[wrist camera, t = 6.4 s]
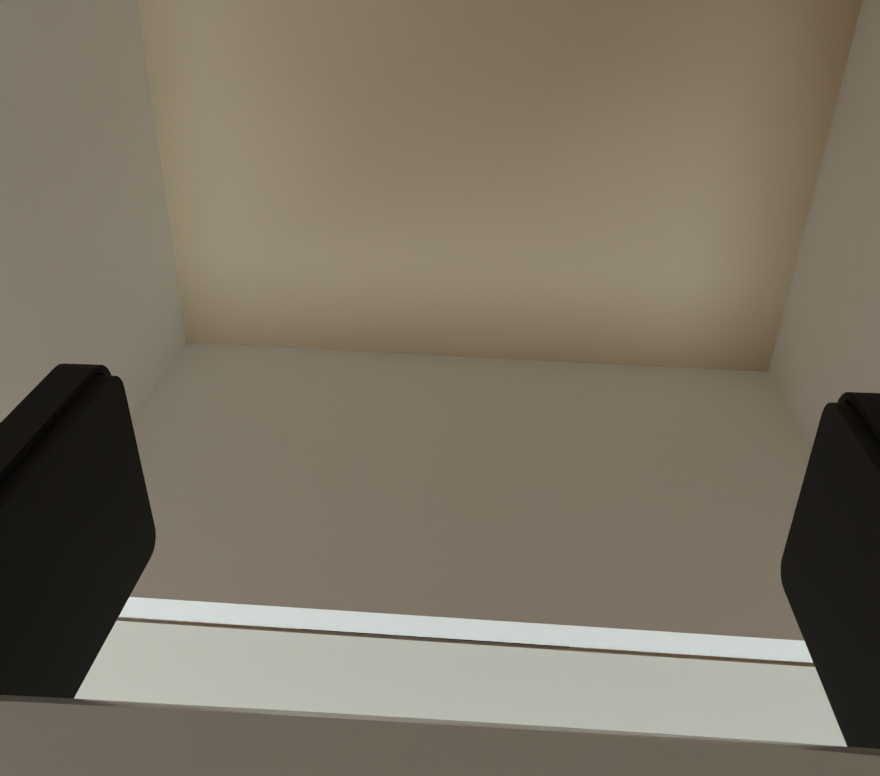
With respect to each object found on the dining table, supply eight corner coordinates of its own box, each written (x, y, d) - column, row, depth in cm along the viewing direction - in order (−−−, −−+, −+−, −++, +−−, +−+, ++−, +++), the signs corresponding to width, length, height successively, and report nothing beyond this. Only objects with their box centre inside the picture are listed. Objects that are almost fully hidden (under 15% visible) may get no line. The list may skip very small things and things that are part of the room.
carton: (965, -337, 18) (1582, -663, 8) (778, 379, 27) (947, 671, 17) (70, -348, 19) (-450, -652, 9) (177, 349, 28) (-14, 608, 18)
